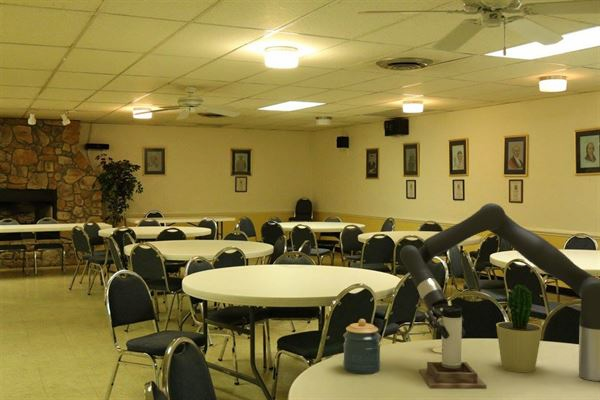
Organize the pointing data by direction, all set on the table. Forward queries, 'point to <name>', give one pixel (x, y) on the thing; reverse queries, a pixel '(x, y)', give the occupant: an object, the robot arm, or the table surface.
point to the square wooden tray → (451, 376)
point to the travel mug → (452, 337)
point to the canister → (361, 348)
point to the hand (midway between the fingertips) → (455, 336)
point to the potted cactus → (519, 334)
